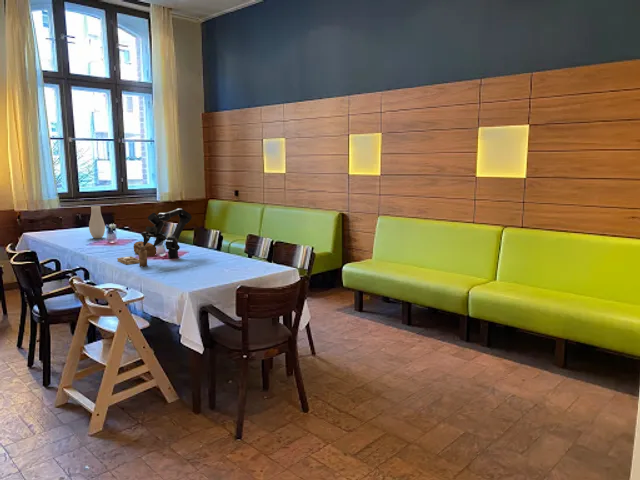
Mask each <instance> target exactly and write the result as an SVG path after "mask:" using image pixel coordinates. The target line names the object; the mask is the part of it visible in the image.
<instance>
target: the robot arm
mask: <svg viewBox="0 0 640 480" xmlns="http://www.w3.org/2000/svg"><path fill="white" fill-rule="evenodd" d="M176 216H178V217H179V222H178V223H177V226H176V228H175V229H174V232H173V234H172V235H171V236H165V234H164V233H162V232H163V231H162V229H163V228H164V227H166V226H167V224H166V222H167V221H169V220H170V219H171V218H173V217H176ZM147 220H148V221H149V222H150V223H151V224H152V226H146V227H145V231H143V232H141V234H140V235H141V236H142V238H143V241H142V242H143V246H145V245H146V244H147V242H148V243H149V241H150V239H151V238H155V241H154V243H153V247H157V246H158V245H159V244H161V243H162V242H165V243H164V244H165V248H166V250H167V258H168V259H179V258H180V256H179V250H180V248H181V246H180V245H179V237H180V236H181V234H182V232H183V230H184V229H185V226H186V225H187V224H188V223H190V221H192V215H191V213H190V212H188V211H186V210H184V209H183V208H176V209H174V210H170V211H167V212H159V213H158V214H157V213H156V212H152V213H151V214H149V215H148V216H147Z"/></svg>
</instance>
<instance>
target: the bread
mask: <svg viewBox="0 0 640 480" xmlns="http://www.w3.org/2000/svg"><path fill="white" fill-rule="evenodd" d="M143 242H144V241H142V240H141V241H140V240H139V241H136V242H134V243H133V252H134V255H139V251H140V247H141V246H143ZM153 245H154V243H151V242H149V241H148V242H147V244H146V245H145V246H144V247H145V250H147V257H153V256H154V255H155V254H156V255H157V252H156V251H157V246H155V247H153ZM156 255H155V256H156Z"/></svg>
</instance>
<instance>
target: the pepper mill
mask: <svg viewBox="0 0 640 480" xmlns="http://www.w3.org/2000/svg"><path fill="white" fill-rule="evenodd" d="M138 259H139V263H138V264H139V267H140V268H146V267H147V266H148V256H147V250H145V247H144V246H141V247H140V251H139V254H138Z"/></svg>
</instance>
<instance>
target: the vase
mask: <svg viewBox="0 0 640 480" xmlns="http://www.w3.org/2000/svg"><path fill="white" fill-rule="evenodd" d="M90 210H91V214H90V218H89V219H90V220H89V222H88V231H89V233H90V236H91V237H92V238H93V239H102V238H103V236H104V234H105V231H106V224H105V221H104V218H103V216H102V212H101V211H102V210H101V205H97V206H95V205H94V206H91V207H90Z"/></svg>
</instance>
